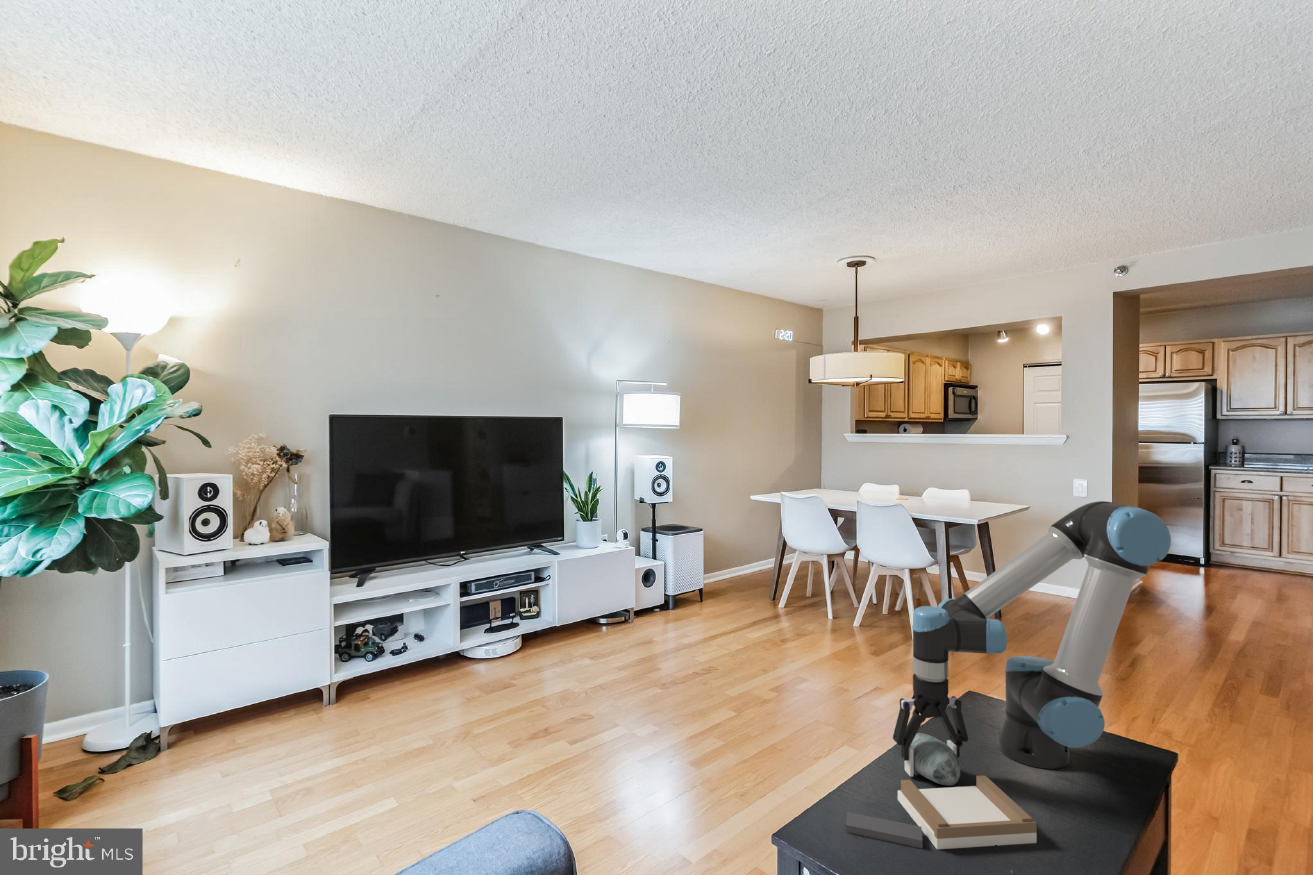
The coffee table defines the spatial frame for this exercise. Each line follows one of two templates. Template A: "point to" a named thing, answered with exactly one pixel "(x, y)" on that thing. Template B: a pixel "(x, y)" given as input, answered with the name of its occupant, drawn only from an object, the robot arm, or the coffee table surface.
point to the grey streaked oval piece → (935, 760)
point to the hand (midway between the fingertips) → (930, 771)
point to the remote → (884, 830)
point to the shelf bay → (968, 815)
